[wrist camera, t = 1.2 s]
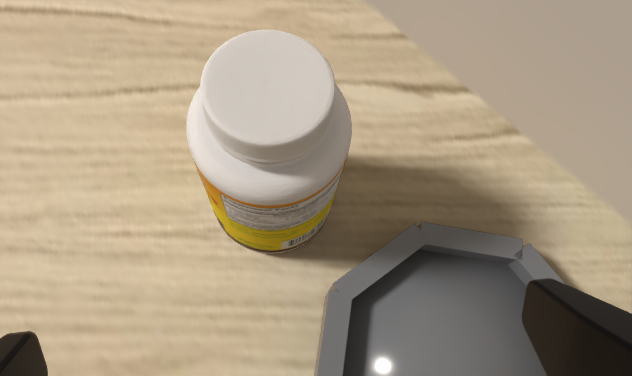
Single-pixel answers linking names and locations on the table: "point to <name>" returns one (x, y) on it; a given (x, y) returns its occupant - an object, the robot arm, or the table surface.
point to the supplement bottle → (269, 138)
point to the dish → (433, 308)
